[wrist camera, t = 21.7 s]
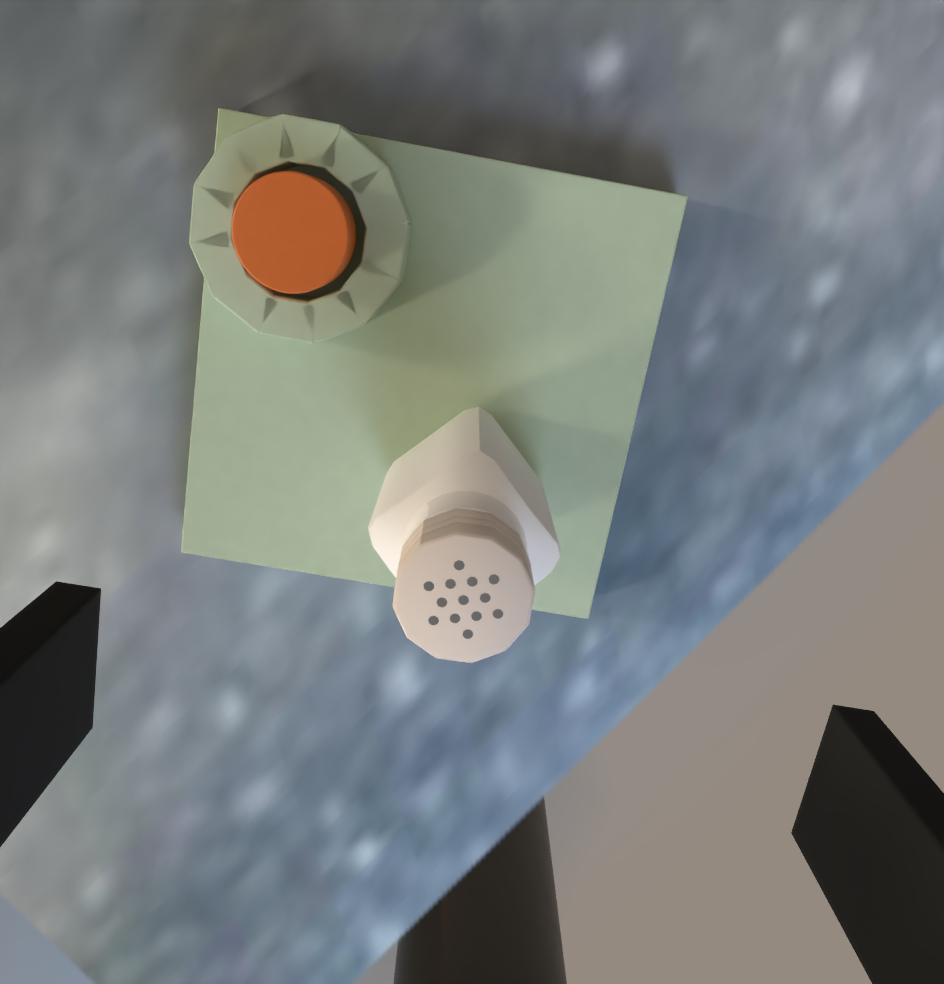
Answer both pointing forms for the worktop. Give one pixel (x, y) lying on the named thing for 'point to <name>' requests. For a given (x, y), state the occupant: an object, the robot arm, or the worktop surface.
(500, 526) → the pepper shaker
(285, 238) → the button
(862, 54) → the worktop surface
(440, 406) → the scale
